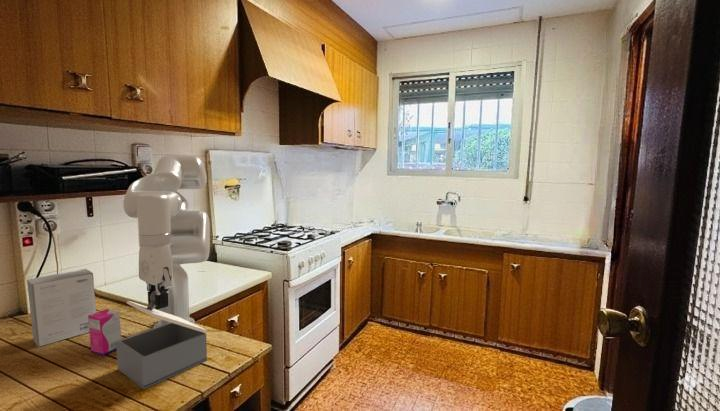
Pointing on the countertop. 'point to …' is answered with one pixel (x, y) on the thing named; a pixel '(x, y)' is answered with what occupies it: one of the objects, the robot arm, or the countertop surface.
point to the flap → (164, 314)
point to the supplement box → (104, 331)
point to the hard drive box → (61, 305)
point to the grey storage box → (160, 353)
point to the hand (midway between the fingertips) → (158, 305)
